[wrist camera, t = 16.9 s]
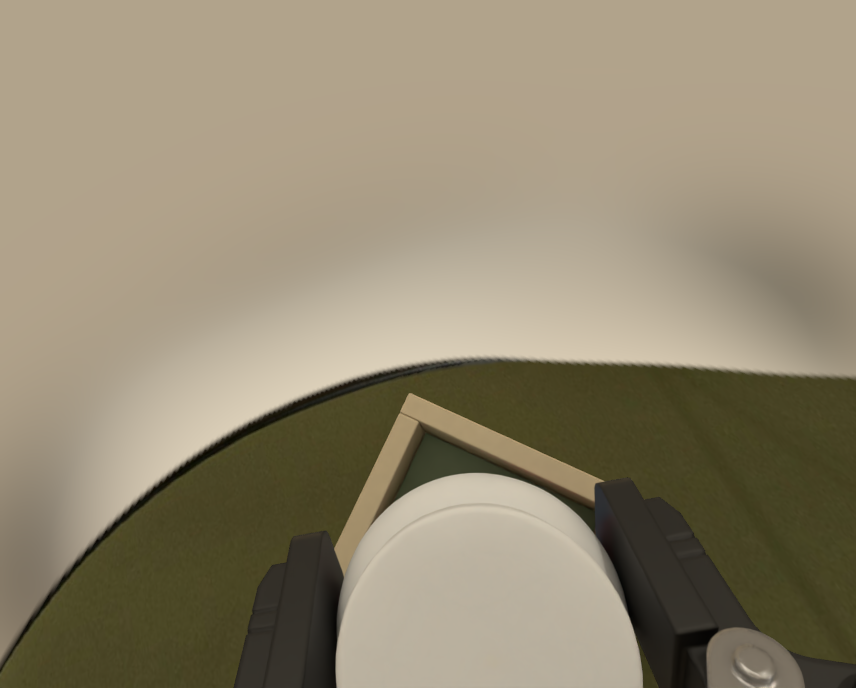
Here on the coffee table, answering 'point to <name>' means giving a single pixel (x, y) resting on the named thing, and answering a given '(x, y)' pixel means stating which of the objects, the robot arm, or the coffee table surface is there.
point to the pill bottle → (483, 595)
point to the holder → (455, 467)
